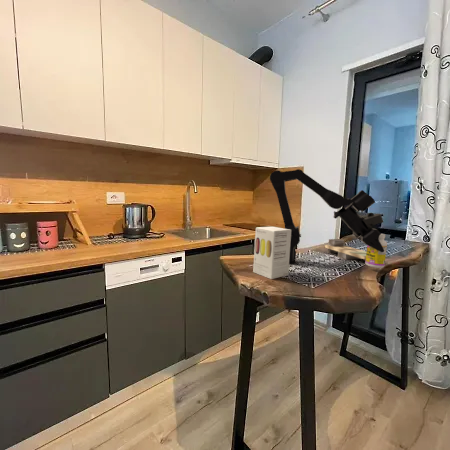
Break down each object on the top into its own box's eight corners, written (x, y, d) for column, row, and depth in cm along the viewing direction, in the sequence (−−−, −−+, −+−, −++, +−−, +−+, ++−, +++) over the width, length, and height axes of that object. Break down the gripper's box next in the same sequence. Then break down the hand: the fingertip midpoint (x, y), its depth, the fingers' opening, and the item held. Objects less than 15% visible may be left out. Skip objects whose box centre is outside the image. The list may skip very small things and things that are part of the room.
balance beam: (380, 263, 112) (381, 248, 111) (362, 265, 109) (364, 249, 108) (339, 251, 135) (340, 238, 134) (324, 252, 131) (325, 239, 131)
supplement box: (252, 272, 94) (254, 227, 92) (269, 268, 100) (271, 225, 98) (271, 279, 87) (274, 230, 85) (289, 275, 92) (292, 229, 90)
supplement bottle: (361, 263, 104) (364, 232, 102) (376, 263, 105) (380, 232, 103) (372, 268, 97) (376, 235, 96) (388, 268, 98) (392, 235, 96)
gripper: (377, 207, 90) (409, 240, 89) (364, 205, 108) (390, 233, 106) (350, 227, 93) (380, 260, 92) (342, 222, 111) (367, 249, 110)
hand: (380, 249), depth 100 cm, fingers closed on supplement bottle, 7 cm apart
